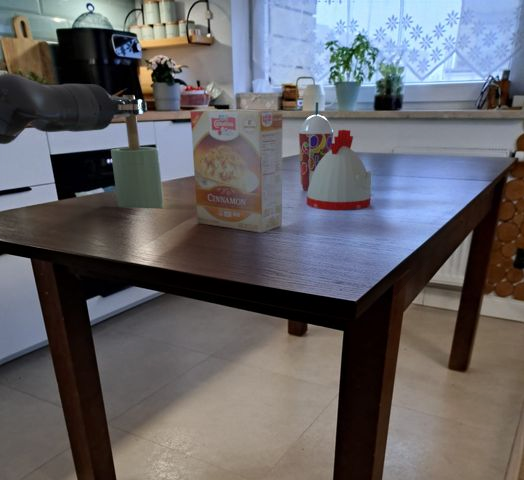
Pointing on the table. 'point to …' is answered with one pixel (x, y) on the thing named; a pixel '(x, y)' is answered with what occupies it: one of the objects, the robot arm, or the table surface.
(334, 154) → the kitchen timer
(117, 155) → the green canister
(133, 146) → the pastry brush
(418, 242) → the table surface
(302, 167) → the smoothie
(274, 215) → the coffeecake box
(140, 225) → the table surface
